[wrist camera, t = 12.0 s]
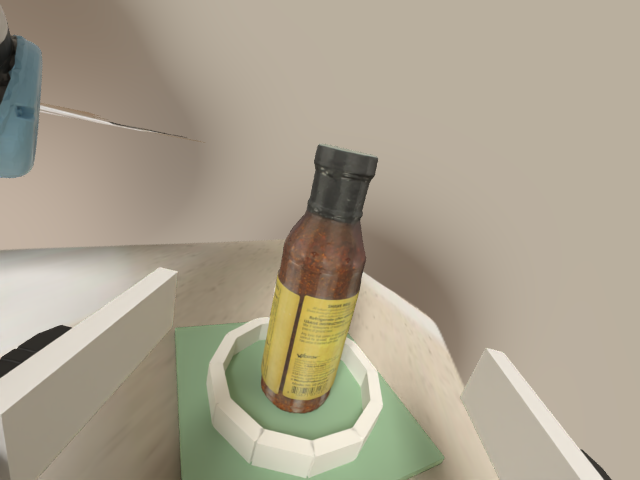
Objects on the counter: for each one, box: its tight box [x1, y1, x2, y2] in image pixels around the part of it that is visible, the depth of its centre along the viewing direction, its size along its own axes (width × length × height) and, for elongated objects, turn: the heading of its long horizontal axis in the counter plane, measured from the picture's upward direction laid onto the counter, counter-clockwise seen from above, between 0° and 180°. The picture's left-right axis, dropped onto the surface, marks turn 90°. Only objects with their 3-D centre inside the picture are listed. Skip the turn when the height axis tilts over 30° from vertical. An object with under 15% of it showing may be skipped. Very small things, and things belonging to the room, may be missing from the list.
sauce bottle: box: [261, 144, 378, 414], centre depth 22 cm, size 7×6×20 cm
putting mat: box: [175, 317, 445, 480], centre depth 25 cm, size 18×18×3 cm
